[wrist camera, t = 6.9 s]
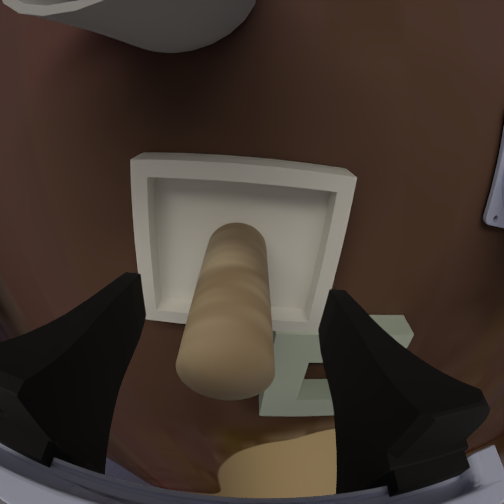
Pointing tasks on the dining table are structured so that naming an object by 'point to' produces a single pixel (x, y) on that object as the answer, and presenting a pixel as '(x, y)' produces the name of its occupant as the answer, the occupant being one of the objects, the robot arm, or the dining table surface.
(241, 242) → the peg
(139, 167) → the tray
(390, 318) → the holder
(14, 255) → the dining table surface
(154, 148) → the dining table surface
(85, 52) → the dining table surface
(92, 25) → the cup
